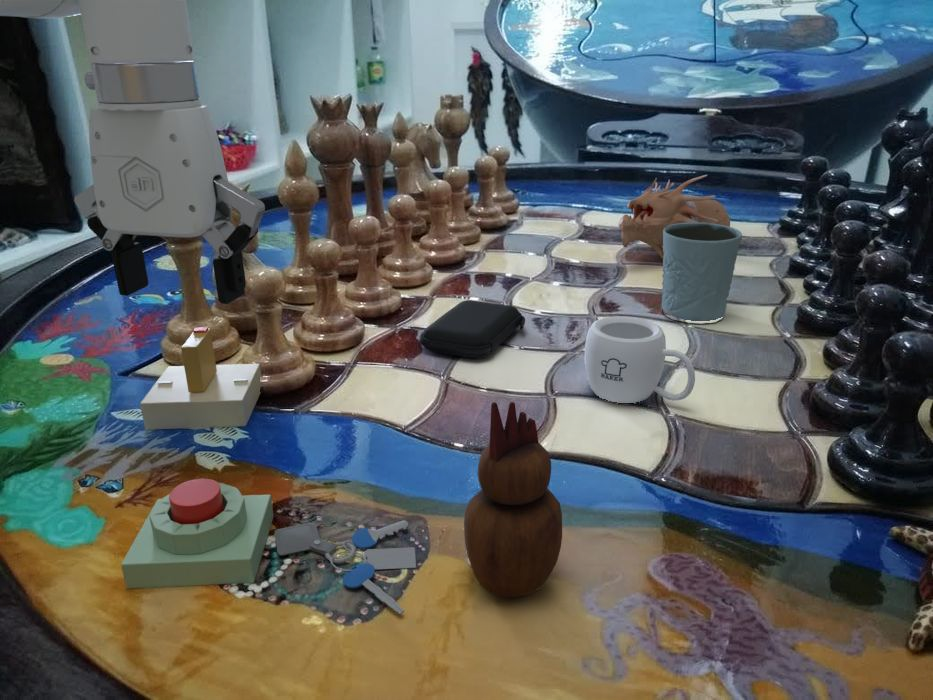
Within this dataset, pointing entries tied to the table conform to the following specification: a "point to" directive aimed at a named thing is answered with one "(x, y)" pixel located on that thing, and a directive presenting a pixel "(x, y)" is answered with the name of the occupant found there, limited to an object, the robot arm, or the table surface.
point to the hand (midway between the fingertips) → (182, 294)
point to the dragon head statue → (667, 214)
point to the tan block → (199, 359)
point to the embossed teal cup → (698, 269)
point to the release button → (196, 501)
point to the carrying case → (472, 329)
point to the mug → (629, 360)
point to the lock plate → (202, 399)
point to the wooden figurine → (513, 510)
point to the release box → (200, 545)
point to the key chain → (352, 554)
